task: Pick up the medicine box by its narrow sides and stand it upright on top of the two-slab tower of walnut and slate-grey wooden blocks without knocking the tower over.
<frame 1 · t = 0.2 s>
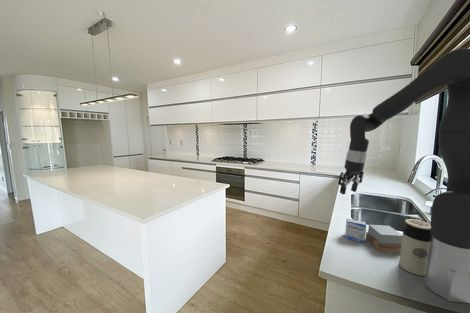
hand: (348, 192, 93), 22 cm above the counter, tool pointing down, fingers open, 8 cm apart
tower base block: (383, 246, 88), on the counter
medicine box: (354, 238, 94), on the counter
tower top block: (384, 238, 87), point 4 cm above the counter
travel mug: (412, 269, 73), on the counter
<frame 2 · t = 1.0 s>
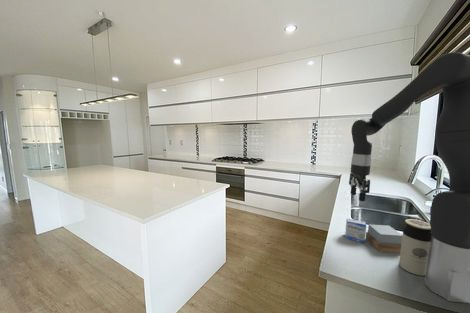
hand: (357, 197, 91), 20 cm above the counter, tool pointing down, fingers open, 8 cm apart
tower base block: (383, 246, 88), on the counter, touching tower top block
tower top block: (384, 238, 88), point 4 cm above the counter, touching tower base block
everything else where it was.
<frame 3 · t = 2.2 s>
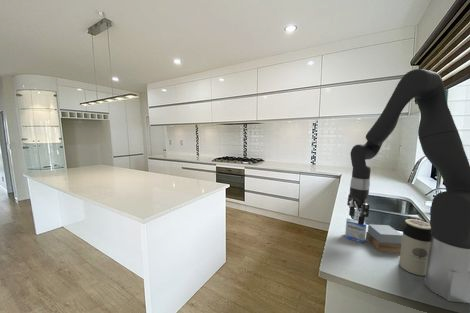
hand: (355, 219, 93), 9 cm above the counter, tool pointing down, fingers open, 8 cm apart
nothing on the counter moved.
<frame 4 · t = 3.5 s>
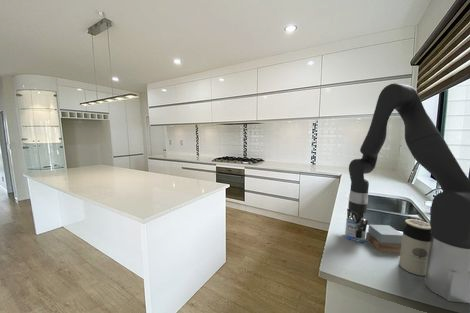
hand: (354, 234, 93), 2 cm above the counter, tool pointing down, fingers closed on medicine box, 5 cm apart
medicine box: (354, 238, 94), on the counter, touching gripper
everything else where it was.
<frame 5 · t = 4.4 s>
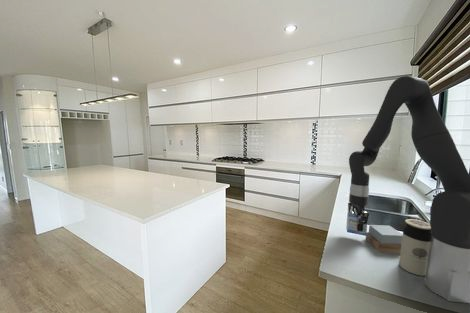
hand: (356, 227, 93), 6 cm above the counter, tool pointing down, fingers closed on medicine box, 5 cm apart
medicine box: (355, 232, 93), point 3 cm above the counter, touching gripper
everything else where it was.
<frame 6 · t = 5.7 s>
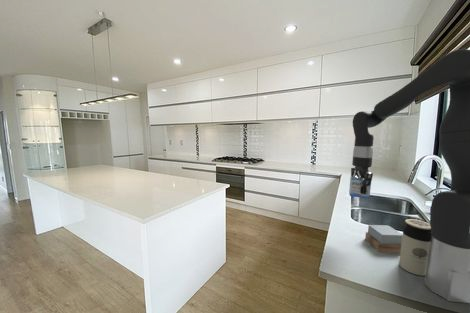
hand: (359, 191, 91), 23 cm above the counter, tool pointing down, fingers closed on medicine box, 5 cm apart
medicine box: (358, 196, 91), point 21 cm above the counter, touching gripper
everything else where it was.
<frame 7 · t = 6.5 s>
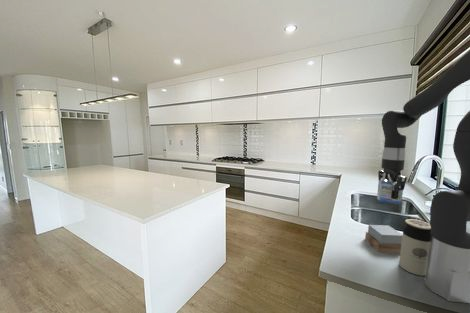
hand: (389, 196, 85), 23 cm above the counter, tool pointing down, fingers closed on medicine box, 5 cm apart
medicine box: (388, 201, 85), point 21 cm above the counter, touching gripper
everything else where it was.
when the fingers open (11 cm above the counter, at t = 8.7 s): medicine box drops 2 cm, resting on tower top block.
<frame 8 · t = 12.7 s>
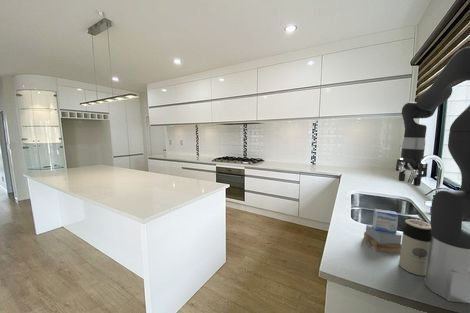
hand: (408, 183, 88), 28 cm above the counter, tool pointing down, fingers open, 8 cm apart
medicine box: (383, 230, 87), point 7 cm above the counter, touching tower top block
tower top block: (382, 238, 88), point 3 cm above the counter, touching medicine box, tower base block
everything else where it was.
at the end: medicine box 0.3 cm off-centre on the tower top block, point 3.8 cm above the tower top block's base; medicine box tilted 0°; tower top block 0.7 cm from the target spot, point 3.3 cm above the counter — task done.
